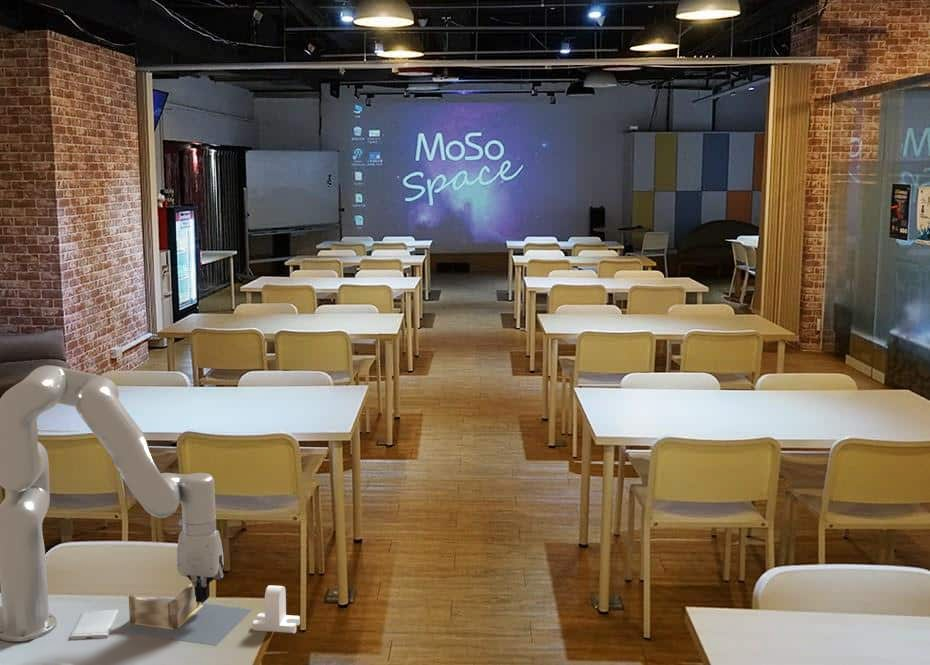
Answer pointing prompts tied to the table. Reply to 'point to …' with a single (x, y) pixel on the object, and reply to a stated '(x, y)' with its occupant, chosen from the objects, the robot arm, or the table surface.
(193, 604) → the fence swing panel
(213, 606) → the card
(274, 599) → the cable organizer
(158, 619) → the fence fixed section
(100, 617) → the hard drive
